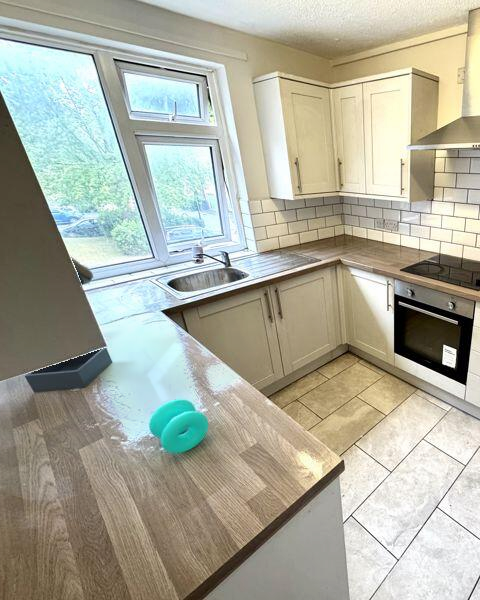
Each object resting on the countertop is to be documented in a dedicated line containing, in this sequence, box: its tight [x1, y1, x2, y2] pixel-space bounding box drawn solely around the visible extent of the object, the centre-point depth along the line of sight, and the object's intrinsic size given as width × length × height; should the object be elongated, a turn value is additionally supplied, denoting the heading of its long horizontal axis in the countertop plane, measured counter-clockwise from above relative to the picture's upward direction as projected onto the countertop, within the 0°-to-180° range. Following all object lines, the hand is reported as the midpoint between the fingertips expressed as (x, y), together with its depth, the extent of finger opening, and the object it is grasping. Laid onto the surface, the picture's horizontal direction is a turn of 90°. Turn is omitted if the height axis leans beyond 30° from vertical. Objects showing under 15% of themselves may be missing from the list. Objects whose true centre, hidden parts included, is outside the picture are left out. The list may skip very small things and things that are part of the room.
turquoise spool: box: [148, 398, 209, 454], centre depth 80 cm, size 10×10×10 cm
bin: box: [24, 347, 113, 393], centre depth 104 cm, size 14×14×6 cm
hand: (39, 313), depth 93 cm, fingers closed on spray can, 5 cm apart
